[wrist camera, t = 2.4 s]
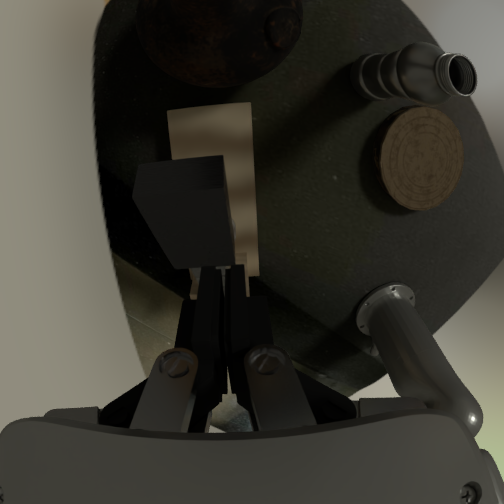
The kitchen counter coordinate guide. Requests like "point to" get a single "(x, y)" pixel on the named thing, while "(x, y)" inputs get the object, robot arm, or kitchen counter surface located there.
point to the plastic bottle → (414, 75)
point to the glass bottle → (218, 38)
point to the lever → (188, 211)
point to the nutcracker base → (236, 167)
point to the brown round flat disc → (418, 157)
